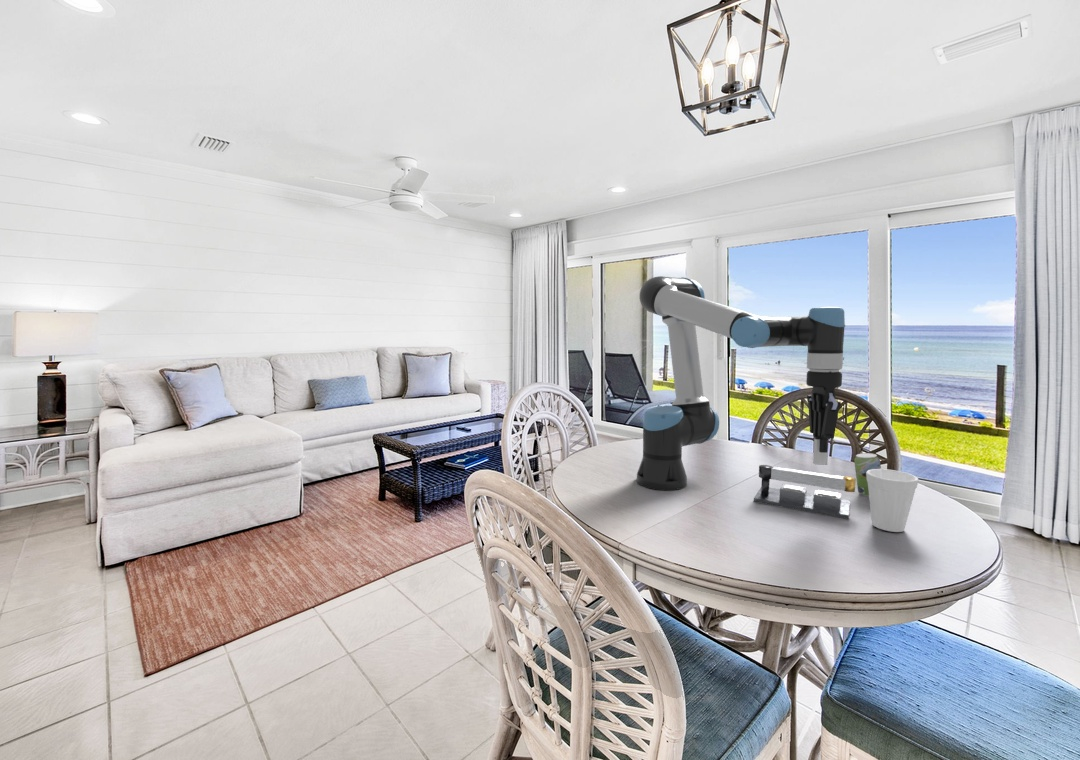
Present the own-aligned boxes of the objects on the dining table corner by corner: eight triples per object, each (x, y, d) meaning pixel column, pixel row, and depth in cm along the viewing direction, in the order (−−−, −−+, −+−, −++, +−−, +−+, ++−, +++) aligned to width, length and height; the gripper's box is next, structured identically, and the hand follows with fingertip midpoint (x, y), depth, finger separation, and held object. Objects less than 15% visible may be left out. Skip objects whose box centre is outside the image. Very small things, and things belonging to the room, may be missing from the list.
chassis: (753, 501, 131) (754, 481, 130) (761, 489, 141) (762, 470, 140) (848, 519, 119) (850, 497, 118) (849, 504, 128) (851, 483, 128)
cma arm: (757, 478, 133) (758, 466, 132) (759, 474, 136) (760, 463, 135) (854, 493, 120) (855, 481, 120) (854, 489, 123) (855, 477, 123)
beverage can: (887, 500, 131) (890, 457, 130) (858, 498, 133) (860, 456, 132) (876, 492, 138) (879, 452, 136) (848, 490, 139) (851, 450, 138)
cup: (917, 540, 106) (922, 484, 105) (863, 531, 112) (867, 477, 110) (911, 525, 115) (915, 472, 113) (861, 516, 120) (865, 466, 119)
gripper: (854, 372, 110) (849, 471, 112) (828, 368, 123) (824, 457, 125) (820, 372, 111) (815, 471, 113) (797, 368, 124) (793, 457, 126)
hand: (820, 463), depth 119 cm, fingers closed
